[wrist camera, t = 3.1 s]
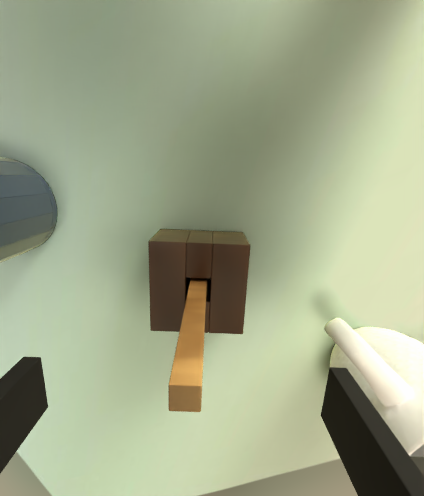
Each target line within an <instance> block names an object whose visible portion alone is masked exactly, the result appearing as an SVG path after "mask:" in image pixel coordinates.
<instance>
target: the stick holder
mask: <svg viewBox="0 0 424 496" xmlns="http://www.w3.org/2000/svg"><path fill="white" fill-rule="evenodd" d="M249 255H250V244H249V242H248V241H247V239H246V237H245V235H244V233H243V232H224V231H213V232H212V231H200V230H175V229H160V230H159V231H158V232H157V233H156V234H155V235H154V236H153V237H152V238H151V239H150V240H149V283H150V326H151V331H176V332H180V327H181V323H182V318H183V313H184V308H185V303H186V298H187V294H188V289H189V284H190V278H210V280H207V290H206V312H205V333H208V332H209V333H228V334H243V326H244V314H245V302H246V290H247V279H248V267H249Z"/></svg>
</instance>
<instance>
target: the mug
mask: <svg viewBox="0 0 424 496" xmlns="http://www.w3.org/2000/svg"><path fill="white" fill-rule="evenodd" d="M324 329H325V331H326V332H327V334H328V335H329V336H330V337H331V338H332V339H333V341H334V342H335V343H336V344H335V346H334V348H333V350H332V354H331V358H330V367H339V368H347V369H348V371H349V372H350V373H351V375H352V376H353V378H354V379H355V380H356V382H357V383H358V385H359V386H360V387H361V389H362V390H363V392H364V393H365V394H366V396H367V397H368V399H369V400H370V401H371V403H372V404H373V406H374V407H375V408H376V410H377V411H378V413H379V414H380V415H381V417H382V418H383V420H384V421H385V422H386V424H387V425H388V426H389V428H390V429H391V431H392V432H393V433H394V435H395V436H396V438H397V439H398V440H399V442H400V443H401V445H402V446H403V447H404V449H405V450H406V452H407V453H408V454H409V456H414V457H424V343H421V342H419V341H418V340H416V339H414V338H411V337H408V336H407V335H405V334H401V333H398V332H396V331H394V330H389V329H384V328H378V327H361V328H357V329H354V330H353V329H352V328H351V327H350V326H349V325H348V324H347V323H346V322H344V321H343V320H342V319H340V318H335V319H332V320H331V321H329V322H328V323H327V324H326V325H325V327H324ZM329 369H330V368H329Z"/></svg>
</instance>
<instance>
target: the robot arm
mask: <svg viewBox="0 0 424 496" xmlns="http://www.w3.org/2000/svg"><path fill="white" fill-rule="evenodd" d="M47 408H48V403H47V396H46V390H45V383H44V376H43V369H42V363H41V357H23V358H22V359H21V360H20V361H19V362H18V363H17V364H15V365H14V366H13V367H12V368H11V369H10V370H9V371H8V372H7V373H6V374H5V375H4V376H3V377H2V378H1V379H0V473H1V472H2V470H3V469H4V468H5V466H6V465H7V463H8V462H9V460H10V459H11V458H12V457H13V455H14V454H15V452H16V451H17V450H18V448H19V447H20V445H21V444H22V443H23V441H24V440H25V438H26V437H27V436H28V434H29V433H30V431H31V430H32V429H33V427H34V426H35V424H36V423H37V422H38V420H39V419H40V417H41V416H42V415H43V413H44V412H45V410H46V409H47ZM321 417H322V419H323V421H324V423H325V425H326V428H327V430H328V432H329V434H330V436H331V438H332V441H333V443H334V445H335V447H336V449H337V451H338V454H339V456H340V458H341V460H342V462H343V464H344V466H345V469H346V471H347V473H348V475H349V477H350V479H351V482H352V484H353V486H354V488H355V490H356V492H357V494H358V496H424V457H414V456H409V454H408V453H407V452H406V450H405V449H404V447H403V446H402V445H401V443H400V442H399V440H398V439H397V438H396V436H395V435H394V433H393V432H392V431H391V429H390V428H389V426H388V425H387V424H386V422H385V421H384V420H383V418H382V417H381V415H380V414H379V413H378V411H377V410H376V408H375V407H374V406H373V404H372V403H371V401H370V400H369V399H368V397H367V396H366V394H365V393H364V392H363V390H362V389H361V387H360V386H359V385H358V383H357V382H356V380H355V379H354V378H353V376H352V375H351V373H350V372H349V371H348V369H347V368H339V367H330V369H329V374H328V380H327V385H326V390H325V396H324V401H323V406H322V412H321Z"/></svg>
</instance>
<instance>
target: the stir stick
mask: <svg viewBox="0 0 424 496" xmlns="http://www.w3.org/2000/svg"><path fill="white" fill-rule="evenodd" d="M206 290H207V278H191V279H190V284H189V289H188V294H187V298H186V303H185V308H184V313H183V318H182V323H181V327H180V332H179V337H178V342H177V347H176V352H175V356H174V361H173V366H172V371H171V376H170V381H169V411H187V412H200V411H201V398H202V377H203V355H204V333H205V312H206Z"/></svg>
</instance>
